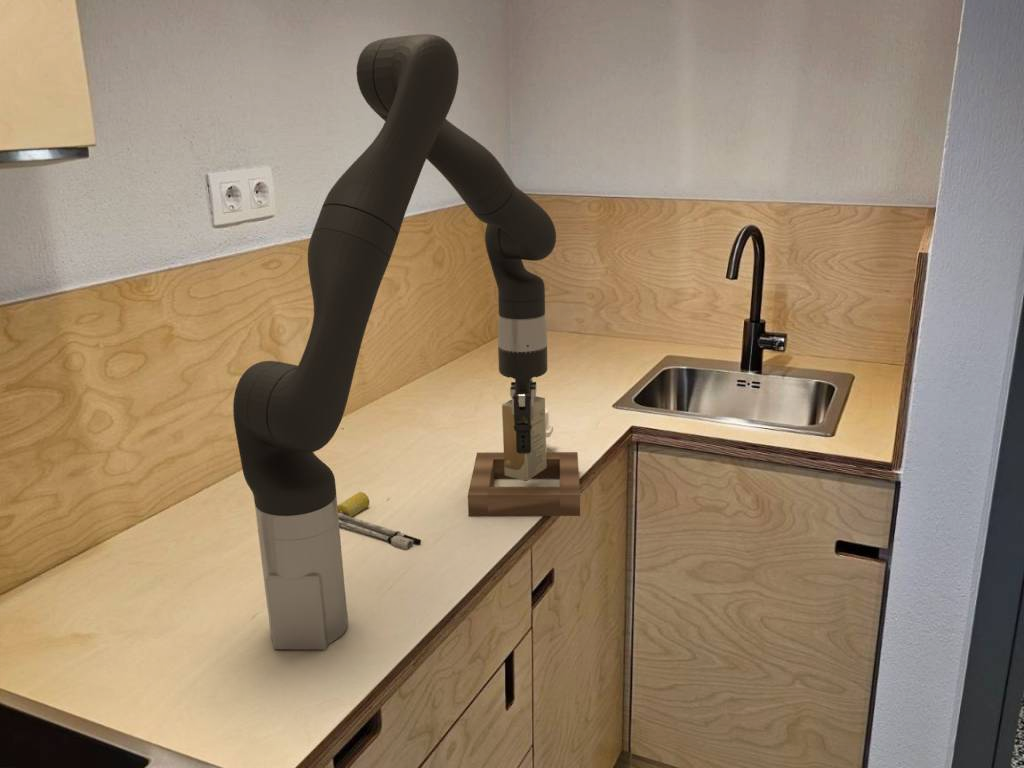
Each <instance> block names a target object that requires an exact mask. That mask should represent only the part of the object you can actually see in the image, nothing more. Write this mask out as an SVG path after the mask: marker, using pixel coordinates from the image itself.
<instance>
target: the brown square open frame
mask: <svg viewBox="0 0 1024 768" xmlns="http://www.w3.org/2000/svg"><path fill="white" fill-rule="evenodd" d="M578 455H579V453H578V452H577V451H561V452H560V451H555V452H554V451H550V452H549V451H546V463H547V467H546V468H545V469H544V470H542V471H541V472H539V473H538V474H536V475H535V476H533V477H532V478H530V479H531V480H534V479H543V480H544V479H547V480H549V479H559V486H494V483H495V482H494V481H495V479H496V480H497V479H505V480H507V479H510V480H511V479H516V478H512V477H509V476H505V471H504V451H503V452H496V451H495V452H494V451H493V452H490V451H489V452H488V451H487V452H476V455H475V460H474V464H473V470H472V473H471V478H470V483H469V487H468V492H467V507H468V508H467V509H468V510H467V511H468V517H580V516H581V488H580V487H581V486H580V472H579V471H580V469H579V456H578ZM530 479H529V480H530ZM516 480H517V479H516Z"/></svg>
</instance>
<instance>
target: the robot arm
mask: <svg viewBox="0 0 1024 768" xmlns="http://www.w3.org/2000/svg"><path fill="white" fill-rule="evenodd" d="M457 58H458V56H457V54H456V51H455V49H454V48H453V45H451V43H450V42H449V41H448V40H446V39H445V38H444V37H441V36H440V35H437V34H430V33H429V34H427V33H426V34H424V33H421V34H410V35H401V36H394V37H393V36H392V37H387V38H380V39H378V40H377V39H376V40H374V41H372V42H369V44H367V45H366V46H365V47H364V48H363V49H362V51H361V52H360V54H359V57H358V60H357V62H356V63H357V64H356V80H357V81H356V82H357V85H358V88H359V89H358V90H359V91H360V93H361V96H362V97H363V98H364V100H365V102H366V103H367V105H368V106H369V107H370V109H372V110H373V112H375V114H377V115H378V116H379V117H380V118H381V119H382V120H384V124H383V126H382V127H381V130H380V131H379V132H378V134H377V135H376V137H375V138H374V140H373V141H372V142H371V144H370V145H369V146H368V147H367V148H366V149H365V150H364V151H363V152H362V153H361V155H360V156H359V157H357V158H356V160H354V162H353V163H351V165H350V166H349V167H348V168H347V169H346V170H345V172H343V173H342V175H341V176H340V177H339V178H338V180H336V182H335V184H334V185H333V186H332V187H331V188H330V189H329V191H328V194H327V195H326V197H325V199H324V202H323V204H322V206H321V209H320V212H319V214H318V217H317V219H316V222H315V225H314V228H313V231H312V233H311V235H310V239H309V242H308V248H307V268H308V269H307V270H308V275H309V281H310V289H311V294H312V301H313V302H312V303H313V318H312V324H311V329H310V334H309V336H308V340H307V342H306V345H305V349H304V351H303V353H302V356H301V359H300V360H299V362H298V365H297V364H292V363H288V362H287V363H286V362H283V361H275V360H264V361H259V362H257V363H254V364H253V365H251V366H249V367H248V368H247V369H246V370H245V371H244V372H243V374H242V375H241V377H240V378H239V380H238V383H237V385H236V388H235V391H234V397H233V404H232V405H233V407H232V408H233V410H232V411H233V413H232V414H233V423H234V428H235V430H234V431H235V435H236V442H237V447H238V451H239V457H240V462H241V469H242V472H243V473H242V474H243V477H244V480H245V483H246V484H247V486H248V488H249V489H250V491H251V492H252V495H253V499H254V500H253V501H254V507H255V518H256V525H257V526H256V527H257V533H258V542H259V549H260V550H259V551H260V557H261V558H260V559H261V567H262V576H263V582H264V591H265V592H264V593H265V598H266V607H267V615H268V623H269V624H268V625H269V631H270V633H269V634H270V637H271V639H272V645H273V649H274V650H326V649H327V648H328V646H329V644H331V643H332V642H333V641H335V640H337V639H338V638H340V637H341V636H342V635H343V634H344V633H345V632H346V630H347V628H348V626H349V617H348V608H347V606H348V605H347V596H346V595H347V594H346V585H345V576H344V574H345V573H344V565H343V564H344V563H343V554H342V553H343V551H342V544H341V543H342V542H341V530H340V525H339V519H338V518H339V517H338V497H337V487H336V479H335V478H336V477H335V474H334V472H333V470H332V469H331V468H330V467H329V466H328V465H327V464H326V463H325V462H323V461H322V460H321V459H320V458H319V457H318V456H317V455H316V454H315V453H314V452H318V451H319V450H321V449H323V448H324V447H325V446H326V445H327V444H329V442H330V441H331V440H332V439H333V438H334V436H335V434H336V433H337V430H338V428H339V427H340V424H341V422H342V419H343V416H344V414H345V411H346V407H347V404H348V399H349V395H350V391H351V388H352V385H353V384H352V383H353V380H354V375H355V370H356V366H357V362H358V359H359V354H360V350H361V346H362V343H363V339H364V335H365V332H366V329H367V327H368V322H369V319H370V316H371V315H372V314H371V313H372V311H373V308H374V307H373V306H374V305H375V302H376V301H375V300H376V298H377V294H378V291H379V288H380V286H381V283H382V280H383V278H384V275H385V273H386V270H387V268H388V266H389V264H390V261H391V258H392V255H393V252H394V249H395V247H396V244H397V240H398V238H399V234H400V232H401V227H402V224H403V222H404V219H405V215H406V212H407V210H408V207H409V204H410V202H411V199H412V196H413V194H414V191H415V189H416V187H417V183H418V180H419V178H420V176H421V172H422V170H423V167H424V165H425V163H426V160H427V161H428V162H429V163H430V164H431V165H432V166H433V167H434V168H435V169H436V170H437V171H438V172H439V173H440V174H441V175H442V176H443V177H444V178H445V180H446V181H448V183H449V184H450V185H451V187H452V188H453V189H454V190H455V191H456V193H457V194H458V196H459V197H460V198H461V199H462V201H463V202H464V203H465V205H466V206H467V207H468V208H469V209H470V211H471V212H472V214H473V215H474V216H475V217H476V218H478V220H479V221H481V222H483V223H484V224H486V226H485V232H484V239H485V240H484V241H485V249H486V253H487V257H488V259H489V262H490V267H491V269H492V274H493V277H494V280H495V282H496V285H497V290H498V291H497V293H498V294H497V296H498V297H497V298H498V301H497V304H498V322H497V349H498V350H497V351H498V354H497V355H498V356H497V357H498V372H499V374H501V376H503V377H506V378H508V379H509V378H511V379H513V380H515V381H511V383H510V387H509V388H510V389H509V390H510V391H509V393H510V399H511V400H512V415H513V416H514V429H515V431H516V449H517V453H519V454H528V453H530V452H531V429H532V425H531V417H532V416H534V399H535V398H536V396H537V381H533V378H539V377H542V376H544V375H545V374H546V373H547V372H548V327H547V325H548V324H547V322H546V321H547V320H546V295H545V292H546V291H545V290H546V289H545V282H544V279H543V278H542V277H541V276H538V275H536V274H534V273H533V272H531V271H529V270H527V268H525V266H524V263H523V260H524V261H533V262H535V261H541V260H544V259H546V258H547V257H549V256H550V255H551V254H552V252H553V251H554V249H555V247H556V242H557V232H556V228H555V224H554V221H553V220H552V218H551V217H550V215H549V214H548V213H547V211H545V209H544V208H542V206H540V205H539V204H538V203H537V202H535V200H534V199H532V198H531V197H530V196H528V195H527V194H526V193H525V192H524V191H522V190H521V189H519V188H518V187H517V186H516V184H515V183H514V181H513V180H512V178H511V177H510V176H509V174H508V173H507V171H506V170H505V169H504V167H503V166H502V164H501V163H500V162H499V160H498V159H497V158H496V156H495V155H494V154H493V153H492V152H491V151H490V150H489V149H488V148H486V147H485V146H484V145H483V144H482V143H480V142H478V141H477V140H476V139H475V138H474V137H471V136H470V135H469V134H467V133H466V132H464V131H463V130H461V129H460V128H458V127H457V126H455V125H454V124H453V123H452V122H450V121H449V120H448V119H446V118H447V116H448V114H449V113H450V110H451V107H452V104H453V103H454V99H455V96H456V93H457V91H458V84H459V73H460V71H459V69H460V68H459V62H458V59H457ZM530 405H531V408H530ZM518 417H527V423H518Z"/></svg>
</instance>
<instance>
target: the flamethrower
mask: <svg viewBox="0 0 1024 768" xmlns="http://www.w3.org/2000/svg"><path fill="white" fill-rule="evenodd" d="M337 506H338V517H339V518H338V519H339V526H341V527H344V528H347V529H351V530H354V531H356V532H360V533H362V534H366V535H368V536H372V537H375V538H378V539H381V540H383V541H386V542H387V543H389V544H391V545H392V546H393V547H395V548H399V549H401V550H405V551H407V550H409V548H408V547H413V546H414V543H415V544H417V545H420V544H421V543H422V540H421V539H420V538H417V537H415V536H410V535H407V534H405V533H402V532H401V531H398V530H397V531H396V530H393V529H389V528H387V527H384V526H380V525H377V524H374V523H370V522H368V521H366V520H365V521H364V520H362V519H358V518H355V517H354V516H356V515H357V514H359V513H360V512H361V511H363V510H365V509H367V508H368V507H369V506H370V499H369V496H368V495H367V494H366V493H364V492H362V491H358V492H357V493H354V495H352V496H351V497H349V498H347V499H346V500H344V501H342V502H341V503H339V504H337Z"/></svg>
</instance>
